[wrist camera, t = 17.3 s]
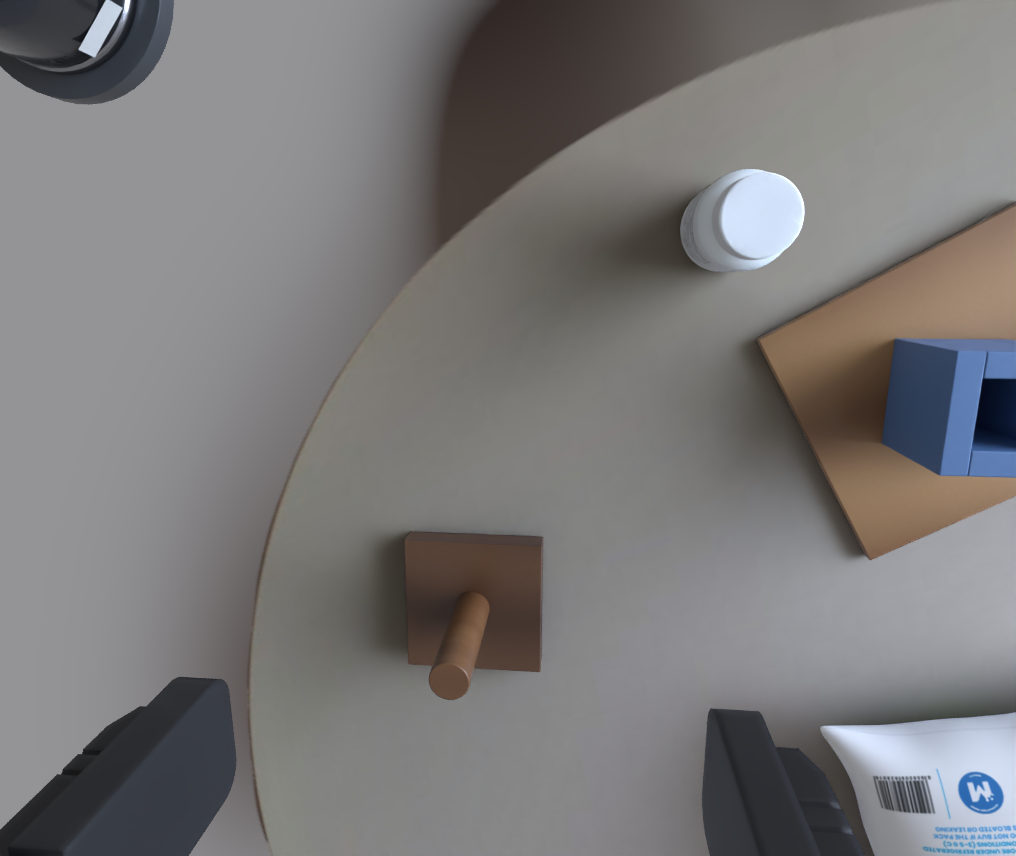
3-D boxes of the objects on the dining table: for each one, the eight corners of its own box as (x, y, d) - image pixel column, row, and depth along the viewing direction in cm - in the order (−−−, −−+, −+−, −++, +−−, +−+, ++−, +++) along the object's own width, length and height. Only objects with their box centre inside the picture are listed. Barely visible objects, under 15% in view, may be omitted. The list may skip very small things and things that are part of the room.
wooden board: (755, 339, 36) (758, 340, 36) (1020, 199, 33) (1028, 198, 33) (865, 556, 38) (870, 561, 38) (1124, 441, 35) (1133, 444, 35)
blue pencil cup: (894, 338, 35) (957, 350, 29) (1010, 339, 34) (1099, 352, 28) (881, 443, 36) (939, 476, 30) (992, 446, 35) (1074, 479, 30)
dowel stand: (410, 530, 41) (363, 600, 32) (543, 536, 40) (533, 609, 31) (413, 651, 42) (371, 748, 34) (541, 658, 42) (531, 760, 33)
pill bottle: (777, 195, 34) (833, 172, 27) (750, 281, 35) (796, 282, 28) (693, 174, 35) (725, 146, 27) (668, 260, 36) (692, 256, 28)
